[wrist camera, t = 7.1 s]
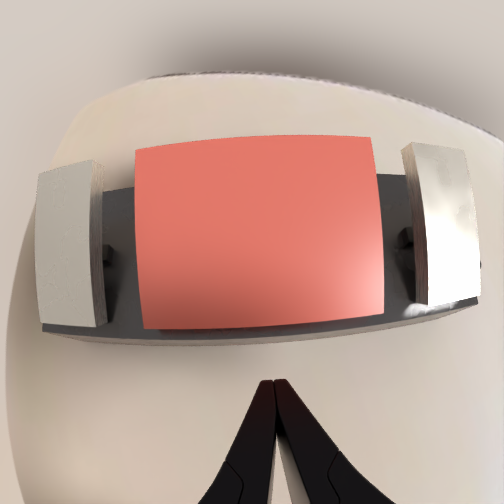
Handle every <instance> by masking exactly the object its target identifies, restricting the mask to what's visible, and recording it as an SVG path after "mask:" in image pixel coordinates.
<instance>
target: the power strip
mask: <svg viewBox="0 0 504 504" xmlns="http://www.w3.org/2000/svg"><path fill="white" fill-rule="evenodd" d="M401 154H402V159H403V164H404V169H405V175H392V174H376V176H377V184H378V192H379V201H380V211H381V223H382V238H383V258H384V313H383V314H376V315H369V316H362V317H354V318H346V319H338V320H329V321H320V322H310V323H299V324H287V325H274V326H259V327H241V328H216V329H144V325H143V318H142V310H141V301H140V292H139V281H138V269H137V255H136V235H135V187H132V188H125V189H119V190H113V191H106V192H103V178H104V166H102V165H101V164H99V163H98V162H96V161H95V160H93V159H92V160H88V161H84V162H80V163H76V164H72V165H68V166H64V167H61V168H57V169H54V170H50V171H47V172H44V173H40V174H39V177H38V186H37V197H36V210H35V275H36V289H37V300H38V309H39V317H40V323H43V328H42V332H46V333H50V334H54V335H59V336H63V337H67V338H72V339H76V340H81V341H88V342H99V343H112V344H129V345H154V346H222V345H247V344H264V343H278V342H290V341H301V340H311V339H320V338H329V337H337V336H345V335H352V334H359V333H366V332H372V331H378V330H384V329H390V328H395V327H401V326H406V325H411V324H416V323H421V322H426V321H430V320H435V319H439V318H441V317H444V316H447V315H450V314H453V313H456V312H458V311H461V310H464V309H466V308H469V307H472V306H474V305H477V304H478V300H477V295H480V269H481V262H480V259H479V242H478V230H477V221H476V212H475V205H474V198H473V192H472V186H471V181H470V176H469V171H468V167H467V162H466V158H465V154H464V150H459V149H454V148H448V147H442V146H435V145H429V144H422V143H414V142H411V143H410V144H409V145H407V146H406V147H405V148H403V149H402V150H401Z"/></svg>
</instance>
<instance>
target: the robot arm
mask: <svg viewBox="0 0 504 504" xmlns="http://www.w3.org/2000/svg"><path fill="white" fill-rule="evenodd" d="M276 433H277V441H278V446H279V450H280V454H281V459H282V463H283V468H284V472H285V476H286V480H287V485H288V489H289V493H290V497H291V502H292V504H396V503H394V502H393V501H391V500H390V499H389V498H388V497H386V496H385V495H384V494H383V493H382V492H381V491H379V490H378V489H377V488H376V487H375V486H374V485H372V484H371V483H370V482H369V481H368V480H367V479H366V478H365V477H364V476H363V475H362V474H360V473H359V472H358V471H357V470H356V469H355V467H354V466H353V465H352V464H351V463H350V462H349V461H348V459H347V458H346V457H345V456H344V455H343V453H342V452H341V451H339V448H338V447H337V446H336V445H335V443H334V442H333V441H332V439H331V438H330V437H329V436H328V434H327V433H326V432H325V430H324V429H323V428H322V426H321V425H320V424H319V423H318V421H317V420H316V419H315V417H314V416H313V415H312V413H311V412H310V411H309V409H308V408H307V407H306V405H305V404H304V403H303V401H302V400H301V398H300V397H299V396H298V394H297V393H296V392H295V390H294V389H293V388H292V386H291V385H290V383H289V382H288V381H287V380H286V379H276V380H274V382H273V380H262V381H261V382H260V383H259V386H258V388H257V390H256V393H255V395H254V397H253V400H252V402H251V404H250V406H249V409H248V411H247V413H246V415H245V418H244V420H243V422H242V424H241V427H240V429H239V431H238V433H237V435H236V437H235V440H234V442H233V444H232V446H231V448H230V450H229V452H228V454H227V456H226V458H225V461H224V462H223V464H222V466H221V468H220V470H219V472H218V474H217V476H216V478H215V479H214V481H213V483H212V484H211V486H210V487H209V489H208V490H207V492H206V493H205V495H204V496H203V497H202V499H201V500H200V501H199V503H198V504H271V500H272V490H273V478H274V466H275V454H276Z"/></svg>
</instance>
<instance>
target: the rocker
mask: <svg viewBox="0 0 504 504" xmlns="http://www.w3.org/2000/svg"><path fill="white" fill-rule="evenodd" d="M135 235H136V255H137V269H138V281H139V292H140V301H141V310H142V318H143V325H144V329H216V328H241V327H259V326H274V325H287V324H299V323H310V322H320V321H329V320H338V319H346V318H354V317H362V316H369V315H376V314H383V313H384V258H383V238H382V223H381V211H380V201H379V192H378V184H377V176H376V169H375V162H374V155H373V149H372V144H371V138H370V137H355V136H332V135H275V136H251V137H235V138H222V139H211V140H201V141H192V142H184V143H176V144H169V145H162V146H156V147H150V148H144V149H138V150H136V156H135Z"/></svg>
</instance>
